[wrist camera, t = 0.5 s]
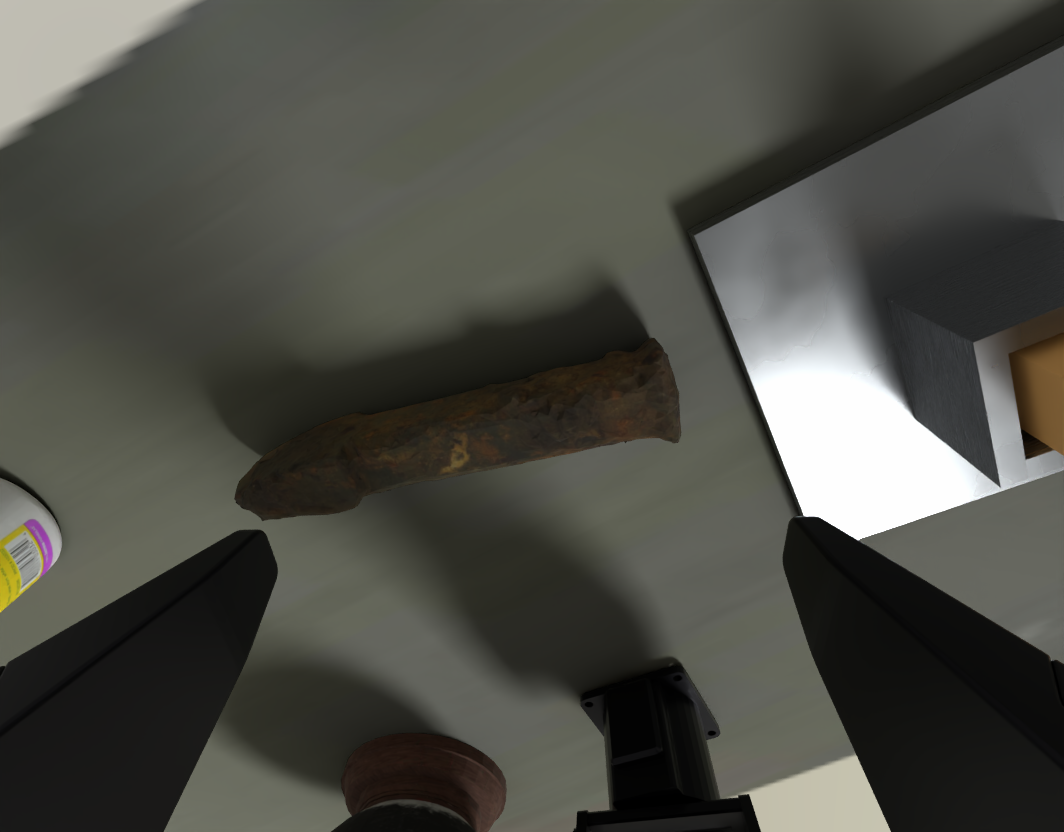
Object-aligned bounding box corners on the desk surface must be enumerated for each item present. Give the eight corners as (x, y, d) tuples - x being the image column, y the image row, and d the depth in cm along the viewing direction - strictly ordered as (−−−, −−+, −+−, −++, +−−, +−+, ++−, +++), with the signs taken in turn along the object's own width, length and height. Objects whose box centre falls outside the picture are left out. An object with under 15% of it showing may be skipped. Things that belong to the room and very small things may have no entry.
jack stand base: (1203, 398, 22) (1407, 482, 17) (808, 535, 26) (871, 638, 21) (1205, -39, 16) (1531, -126, 11) (687, 229, 20) (733, 265, 15)
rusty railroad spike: (661, 322, 22) (684, 364, 18) (671, 409, 24) (694, 466, 20) (240, 403, 25) (175, 457, 21) (277, 476, 26) (224, 539, 22)
